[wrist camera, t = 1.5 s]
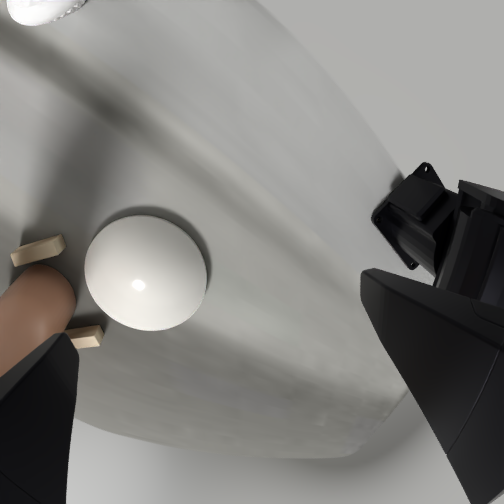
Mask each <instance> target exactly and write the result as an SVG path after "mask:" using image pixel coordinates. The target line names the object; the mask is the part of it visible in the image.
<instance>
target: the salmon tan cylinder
mask: <svg viewBox="0 0 504 504" xmlns="http://www.w3.org/2000/svg"><path fill="white" fill-rule="evenodd" d="M75 309H76V298H75V294H74V291H73V289H72V287H71V285H70V283H69V282H68V281H67V279H66V278H65V277H64V276H63V275H62V274H61V273H60V272H58V271H57V270H55V269H54V268H52V267H49V266H46V265H42V264H37V265H32V266H30V267H28V268H27V269H26V270H25V271H24V272H23V273H22V274H21V275H20V276H19V277H18V278H17V279H16V280H15V281H14V282H13V283H12V284H11V286H10V287H9V288H8V289H7V290H6V291H5V292H4V293H3V294H2V295H1V296H0V377H1V376H2V375H4V374H5V373H6V372H7V371H8V370H10V369H11V368H12V367H13V366H14V365H16V364H17V363H18V362H19V361H21V360H22V359H23V358H24V357H25V356H27V355H28V354H29V353H30V352H32V351H33V350H34V349H35V348H37V347H38V346H39V345H40V344H42V343H43V342H44V341H45V340H47V339H48V338H49V337H51V336H52V335H53V334H55V333H61V332H64V330H65V328H66V326H67V325H68V323H69V321H70V319H71V318H72V316H73V314H74V312H75Z"/></svg>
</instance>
